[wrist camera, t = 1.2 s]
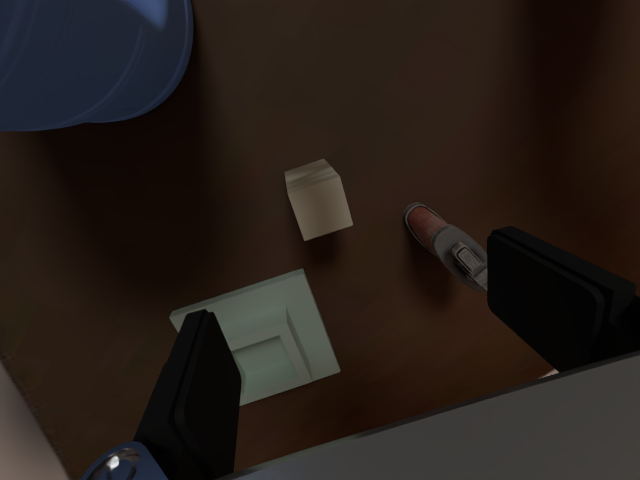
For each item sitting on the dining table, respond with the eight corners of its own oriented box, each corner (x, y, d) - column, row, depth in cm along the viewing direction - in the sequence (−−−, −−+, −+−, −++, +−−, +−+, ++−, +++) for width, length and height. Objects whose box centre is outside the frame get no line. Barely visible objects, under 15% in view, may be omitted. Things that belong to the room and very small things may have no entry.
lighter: (461, 242, 36) (524, 288, 27) (438, 262, 37) (492, 314, 28) (419, 195, 33) (474, 229, 24) (395, 217, 34) (439, 260, 25)
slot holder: (303, 268, 35) (306, 288, 31) (338, 364, 41) (345, 391, 37) (172, 311, 35) (159, 336, 31) (227, 401, 41) (223, 432, 37)
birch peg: (324, 158, 31) (339, 176, 23) (335, 197, 32) (353, 225, 25) (284, 171, 31) (287, 193, 23) (297, 209, 32) (304, 241, 25)
